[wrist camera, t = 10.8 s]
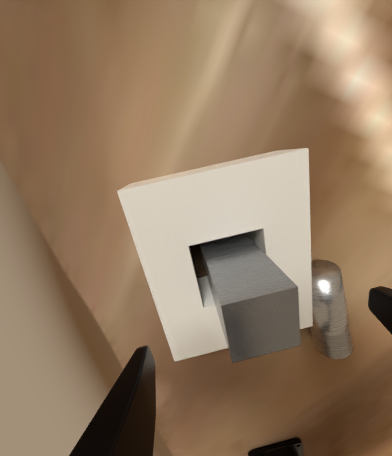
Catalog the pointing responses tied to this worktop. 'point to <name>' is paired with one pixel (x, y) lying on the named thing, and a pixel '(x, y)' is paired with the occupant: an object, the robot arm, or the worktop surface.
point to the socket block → (219, 236)
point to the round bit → (330, 311)
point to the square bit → (251, 298)
